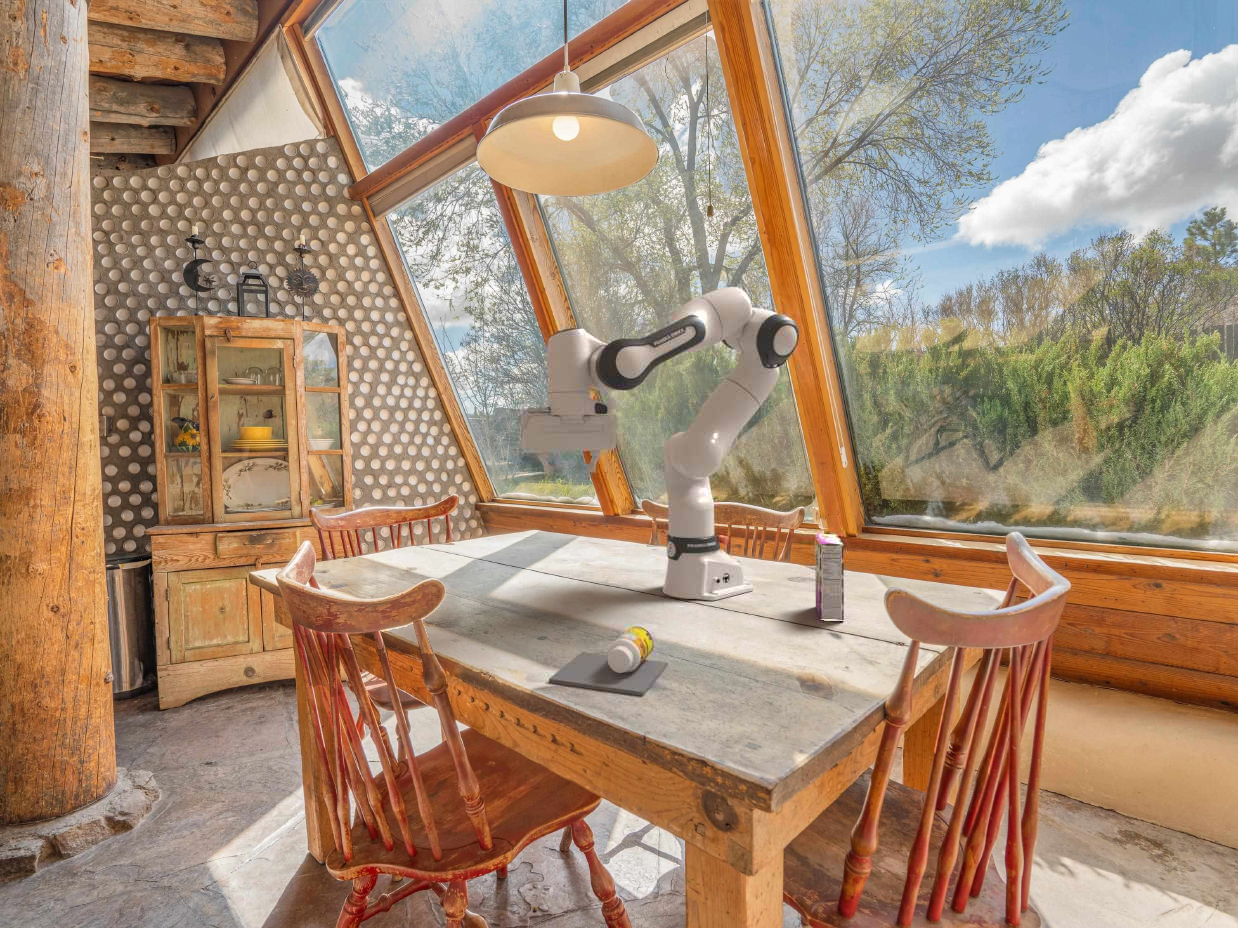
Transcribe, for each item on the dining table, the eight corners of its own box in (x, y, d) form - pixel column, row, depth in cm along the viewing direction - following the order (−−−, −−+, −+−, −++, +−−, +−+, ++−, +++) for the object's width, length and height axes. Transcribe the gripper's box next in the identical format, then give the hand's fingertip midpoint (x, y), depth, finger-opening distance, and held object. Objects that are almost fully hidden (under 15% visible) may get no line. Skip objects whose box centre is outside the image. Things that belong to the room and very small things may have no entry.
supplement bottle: (653, 659, 113) (632, 682, 103) (623, 651, 115) (601, 673, 105) (656, 628, 112) (636, 648, 103) (627, 621, 114) (604, 640, 105)
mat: (582, 654, 116) (582, 651, 116) (667, 665, 111) (667, 662, 111) (549, 682, 104) (548, 678, 104) (643, 695, 99) (643, 691, 99)
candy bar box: (813, 606, 145) (814, 533, 144) (837, 607, 144) (837, 534, 142) (819, 621, 134) (819, 542, 133) (844, 622, 133) (845, 543, 132)
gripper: (526, 406, 127) (527, 477, 128) (618, 406, 137) (619, 472, 137) (516, 407, 133) (517, 475, 134) (605, 407, 142) (606, 470, 143)
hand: (570, 473), depth 136 cm, fingers open, 8 cm apart
